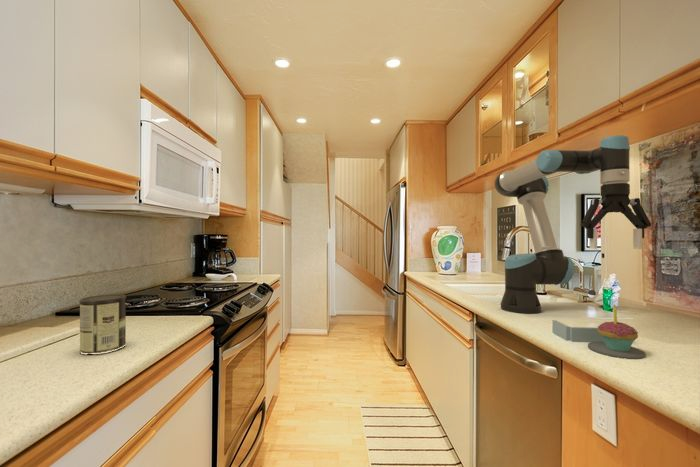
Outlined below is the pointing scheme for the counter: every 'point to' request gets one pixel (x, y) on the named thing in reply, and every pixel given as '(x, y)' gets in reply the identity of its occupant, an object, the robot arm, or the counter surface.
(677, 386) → the counter surface
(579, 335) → the pen walls
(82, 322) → the coffee can
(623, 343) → the cupcake
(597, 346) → the pad
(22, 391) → the counter surface
